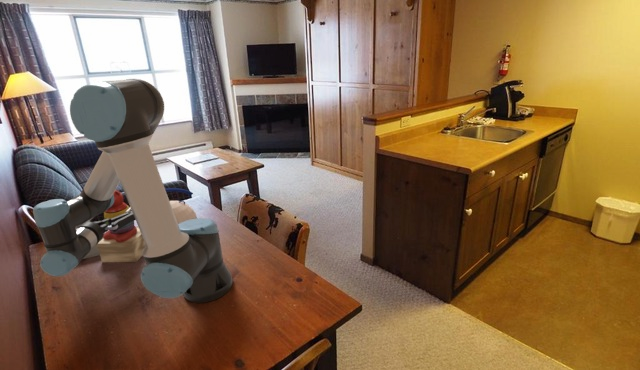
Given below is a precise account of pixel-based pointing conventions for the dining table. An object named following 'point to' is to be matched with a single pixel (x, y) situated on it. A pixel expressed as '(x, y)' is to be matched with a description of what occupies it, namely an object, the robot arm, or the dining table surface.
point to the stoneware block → (93, 252)
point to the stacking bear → (115, 211)
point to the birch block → (122, 249)
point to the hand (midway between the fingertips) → (115, 208)
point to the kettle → (182, 207)
